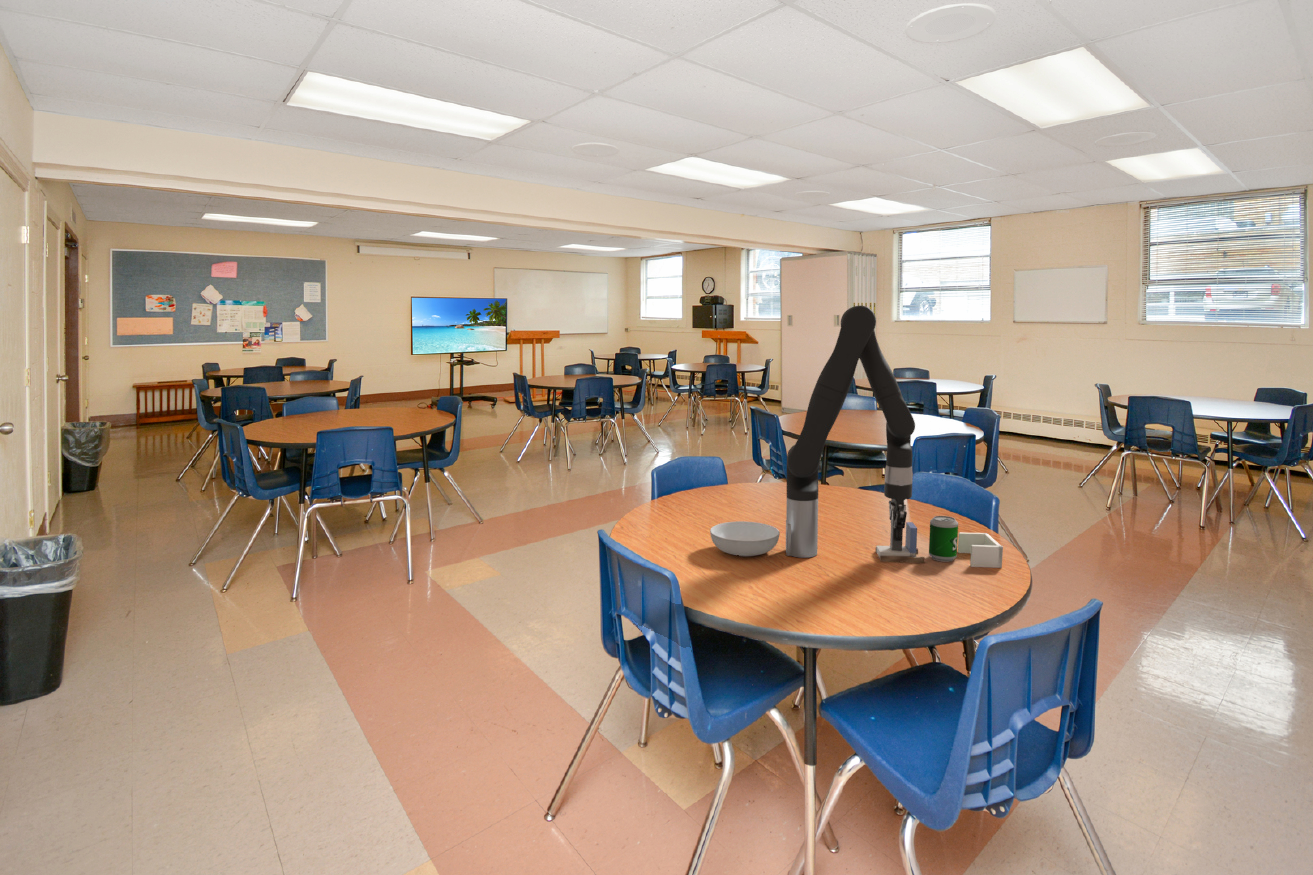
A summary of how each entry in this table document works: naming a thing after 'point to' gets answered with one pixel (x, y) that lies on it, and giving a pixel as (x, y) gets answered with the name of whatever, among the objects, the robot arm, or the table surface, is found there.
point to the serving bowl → (744, 537)
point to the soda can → (943, 538)
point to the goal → (981, 549)
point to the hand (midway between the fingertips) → (896, 538)
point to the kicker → (900, 542)
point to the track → (903, 558)
